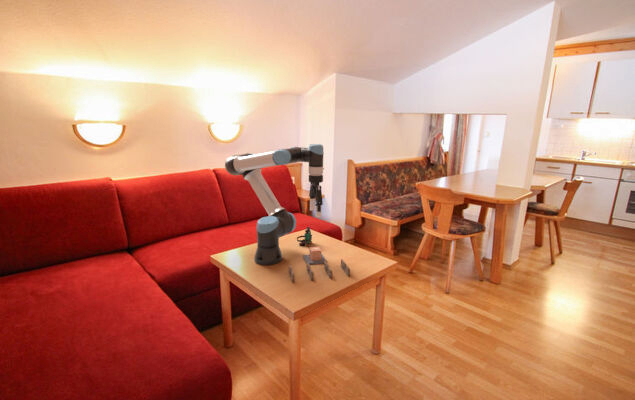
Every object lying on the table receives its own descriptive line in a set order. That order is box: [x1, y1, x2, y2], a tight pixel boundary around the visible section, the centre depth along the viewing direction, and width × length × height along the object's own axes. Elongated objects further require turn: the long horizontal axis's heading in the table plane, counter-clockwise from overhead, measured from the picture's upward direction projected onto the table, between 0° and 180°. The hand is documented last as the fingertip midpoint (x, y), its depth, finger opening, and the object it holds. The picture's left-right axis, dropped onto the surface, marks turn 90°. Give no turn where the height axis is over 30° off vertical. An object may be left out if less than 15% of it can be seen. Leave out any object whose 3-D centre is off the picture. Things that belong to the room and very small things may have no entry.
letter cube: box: [308, 246, 322, 261], centre depth 176 cm, size 6×6×6 cm
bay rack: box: [288, 259, 351, 284], centre depth 160 cm, size 12×29×4 cm, turn 104°
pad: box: [302, 252, 328, 266], centre depth 177 cm, size 11×11×1 cm
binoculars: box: [296, 226, 313, 247], centre depth 198 cm, size 9×11×10 cm
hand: (315, 213), depth 171 cm, fingers open, 13 cm apart
